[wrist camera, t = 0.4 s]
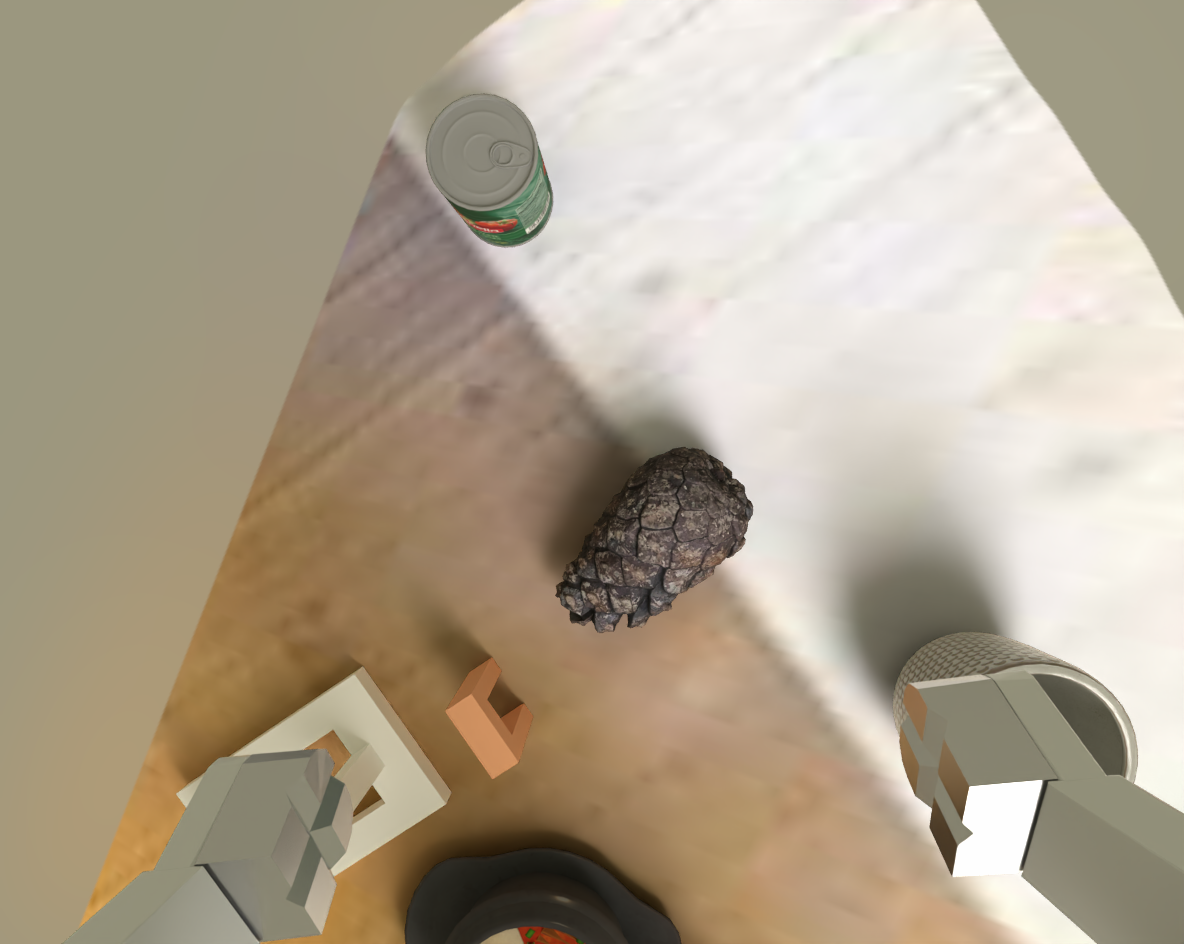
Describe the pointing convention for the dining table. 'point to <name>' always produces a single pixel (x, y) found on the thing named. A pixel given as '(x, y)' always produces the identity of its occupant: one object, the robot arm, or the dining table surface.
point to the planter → (1064, 683)
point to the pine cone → (656, 540)
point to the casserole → (530, 903)
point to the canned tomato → (490, 169)
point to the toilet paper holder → (360, 761)
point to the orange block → (489, 721)
